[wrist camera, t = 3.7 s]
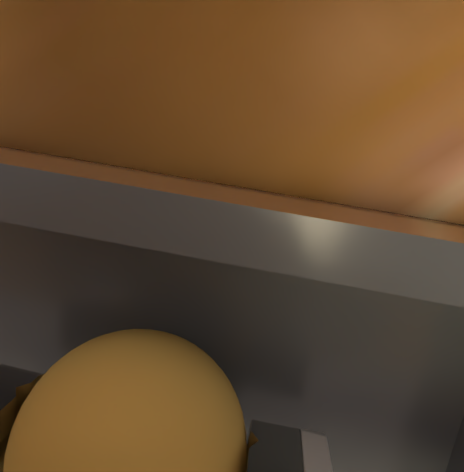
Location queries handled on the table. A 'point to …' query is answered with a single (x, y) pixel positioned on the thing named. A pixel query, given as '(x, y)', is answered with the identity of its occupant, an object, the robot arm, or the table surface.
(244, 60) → the table surface
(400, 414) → the dish
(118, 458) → the ball
